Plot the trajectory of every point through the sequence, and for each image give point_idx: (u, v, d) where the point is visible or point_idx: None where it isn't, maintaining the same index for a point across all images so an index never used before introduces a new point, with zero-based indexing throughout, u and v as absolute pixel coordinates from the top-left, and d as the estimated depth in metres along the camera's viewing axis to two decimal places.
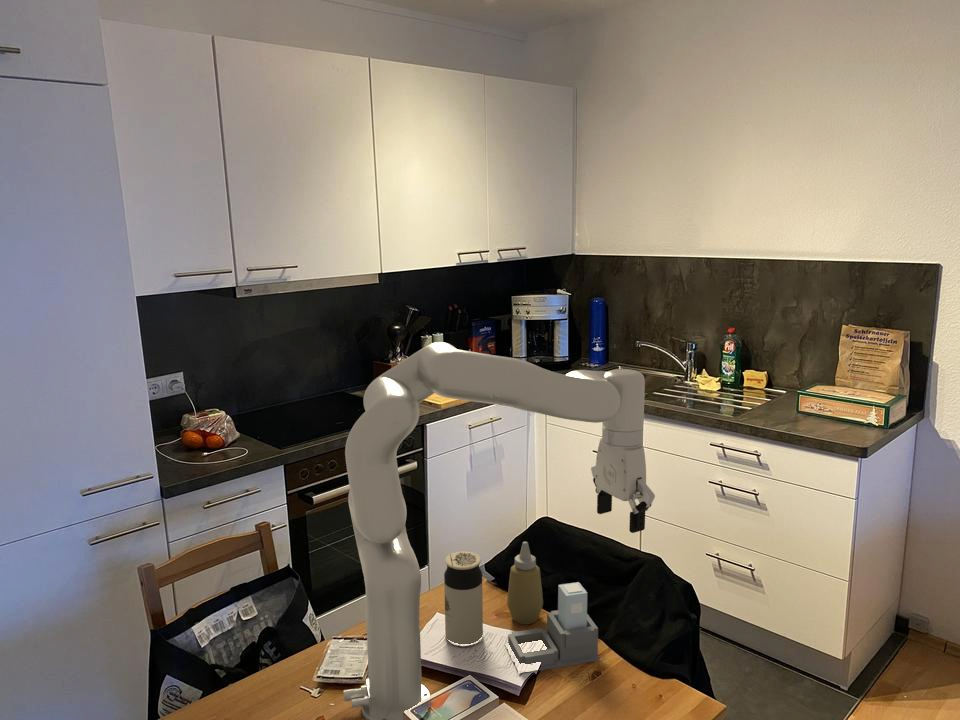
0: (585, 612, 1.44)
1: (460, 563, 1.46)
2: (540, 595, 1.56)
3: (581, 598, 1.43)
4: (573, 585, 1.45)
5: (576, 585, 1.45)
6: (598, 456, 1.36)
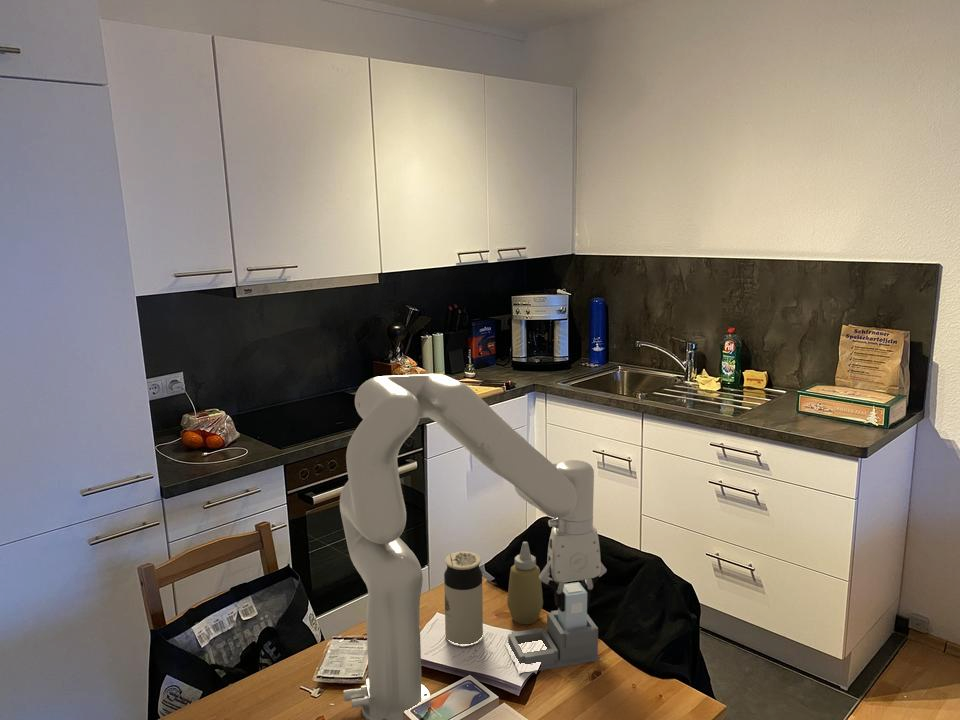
0: (585, 612, 1.44)
1: (460, 563, 1.46)
2: (540, 595, 1.56)
3: (581, 598, 1.43)
4: (573, 585, 1.45)
5: (576, 585, 1.45)
6: (560, 552, 1.39)
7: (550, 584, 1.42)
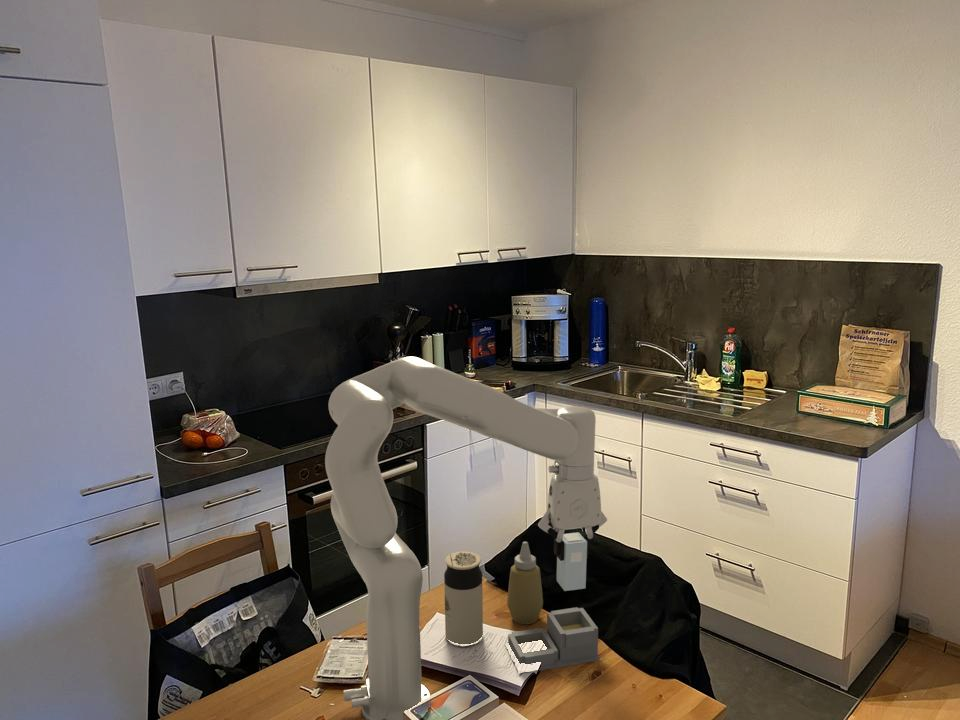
0: (585, 562, 1.41)
1: (460, 563, 1.46)
2: (540, 595, 1.56)
3: (581, 547, 1.40)
4: (573, 535, 1.43)
5: (576, 535, 1.43)
6: (560, 499, 1.37)
7: (549, 532, 1.40)
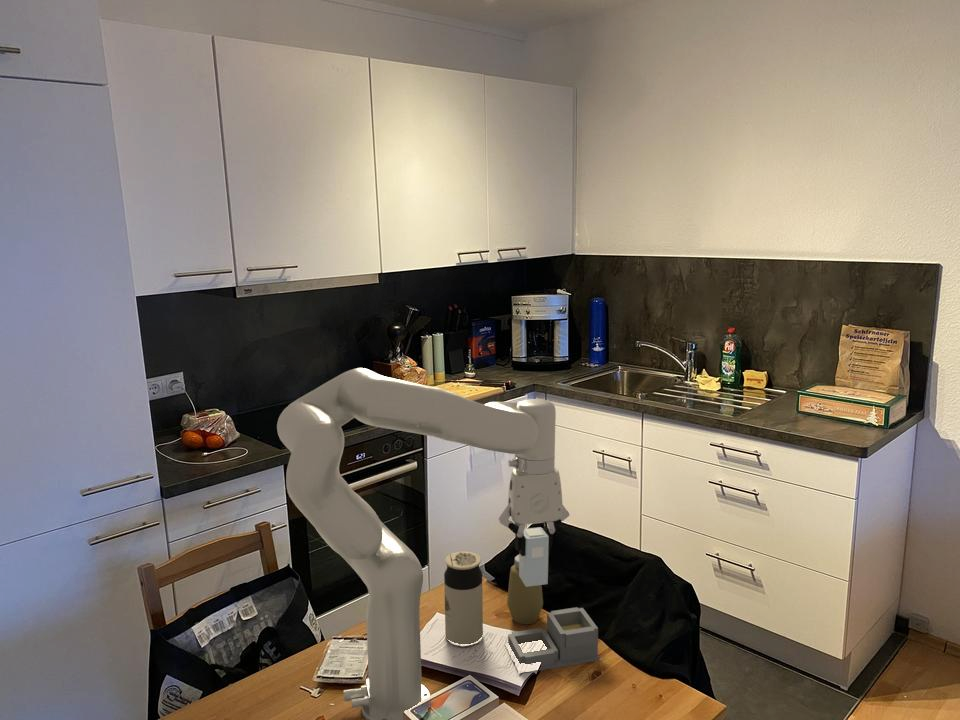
0: (546, 557, 1.39)
1: (460, 563, 1.46)
2: (540, 595, 1.56)
3: (542, 541, 1.38)
4: (535, 530, 1.41)
5: (538, 530, 1.41)
6: (520, 493, 1.35)
7: (510, 527, 1.37)
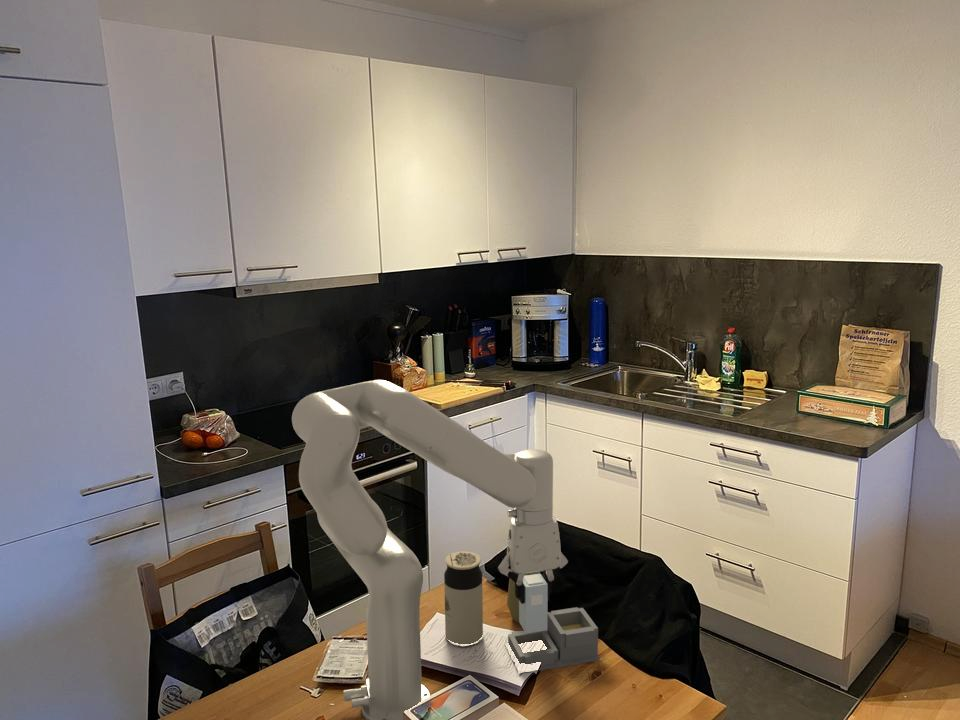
0: (546, 604, 1.41)
1: (460, 563, 1.46)
2: None
3: (541, 589, 1.40)
4: (534, 577, 1.43)
5: (537, 577, 1.43)
6: (519, 543, 1.37)
7: (509, 575, 1.39)
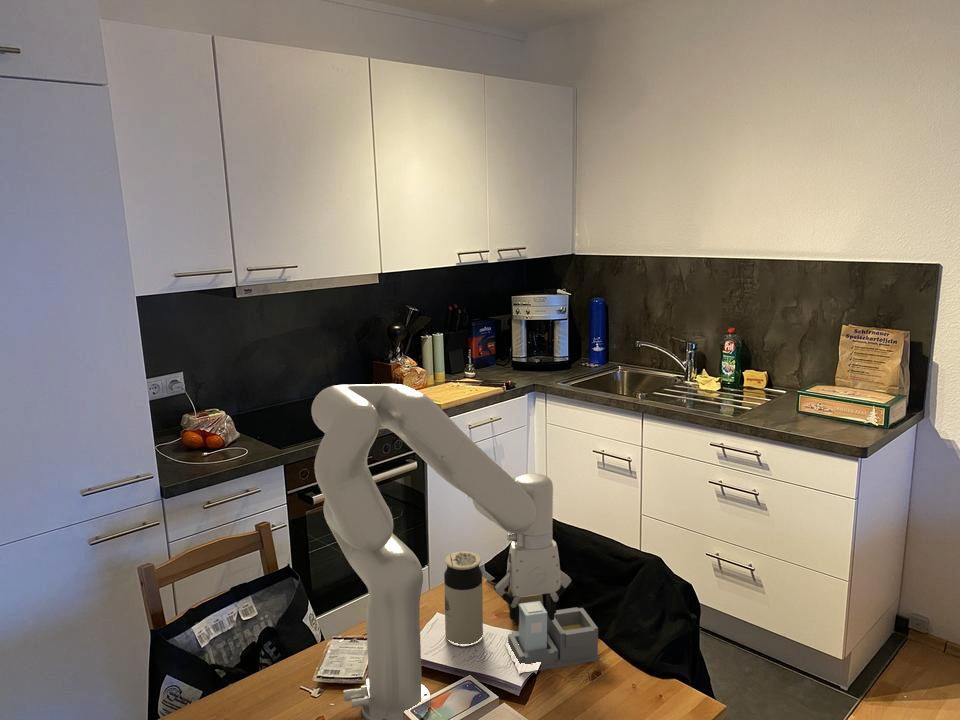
0: (545, 632, 1.42)
1: (460, 563, 1.46)
2: (540, 595, 1.56)
3: (541, 617, 1.41)
4: (534, 604, 1.44)
5: (537, 604, 1.44)
6: (518, 567, 1.38)
7: (504, 598, 1.40)
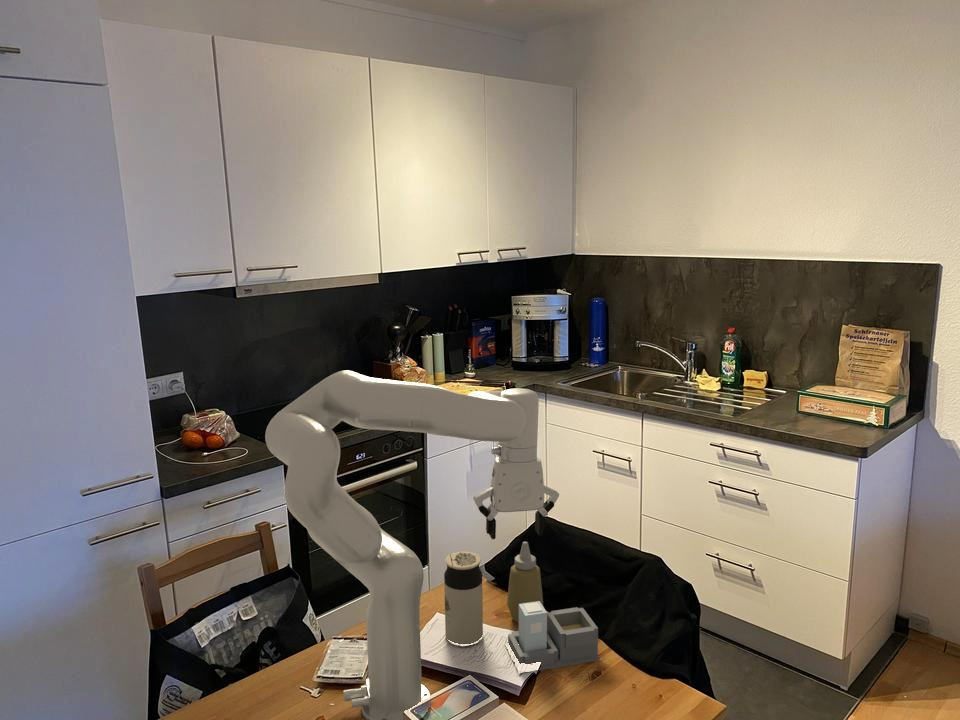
0: (545, 632, 1.42)
1: (460, 563, 1.46)
2: (540, 595, 1.56)
3: (541, 617, 1.41)
4: (533, 604, 1.44)
5: (536, 604, 1.44)
6: (501, 480, 1.36)
7: (480, 509, 1.38)
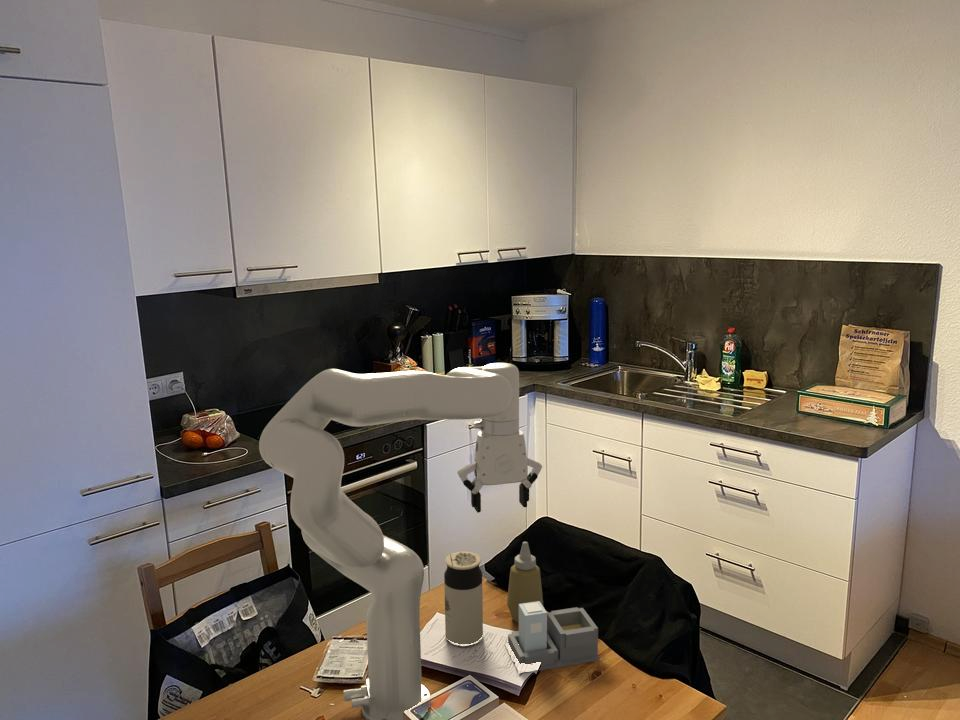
0: (545, 632, 1.42)
1: (460, 563, 1.46)
2: (540, 595, 1.56)
3: (541, 617, 1.41)
4: (533, 604, 1.44)
5: (536, 604, 1.44)
6: (485, 454, 1.38)
7: (465, 483, 1.40)
